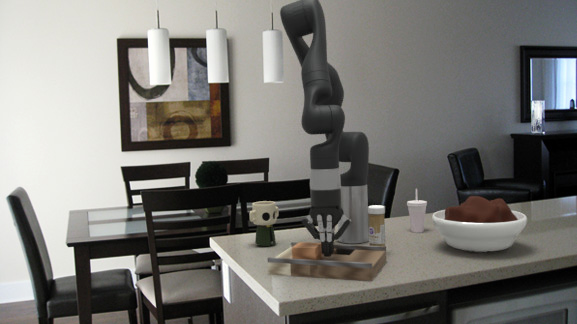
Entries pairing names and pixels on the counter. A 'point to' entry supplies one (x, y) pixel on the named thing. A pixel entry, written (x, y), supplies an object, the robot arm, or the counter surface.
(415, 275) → the counter surface
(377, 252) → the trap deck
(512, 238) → the chocolate pudding bowl
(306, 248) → the terracotta block
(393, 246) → the counter surface
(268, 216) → the character mug
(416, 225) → the smoothie
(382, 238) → the sprinkles bottle
